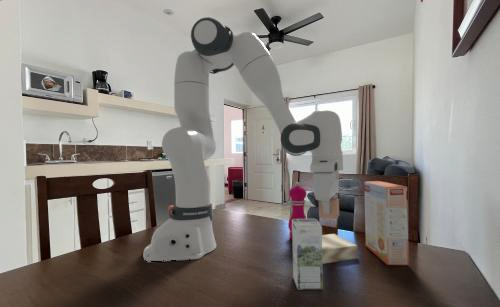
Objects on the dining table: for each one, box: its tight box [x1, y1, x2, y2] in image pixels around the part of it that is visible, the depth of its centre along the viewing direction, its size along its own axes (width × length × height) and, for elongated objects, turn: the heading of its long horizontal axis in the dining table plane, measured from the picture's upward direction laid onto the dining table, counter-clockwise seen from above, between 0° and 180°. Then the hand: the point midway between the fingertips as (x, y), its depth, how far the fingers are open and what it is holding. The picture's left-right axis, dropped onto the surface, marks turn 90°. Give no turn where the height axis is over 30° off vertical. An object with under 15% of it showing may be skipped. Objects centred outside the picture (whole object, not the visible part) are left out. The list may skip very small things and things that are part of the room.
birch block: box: [322, 233, 359, 265], centre depth 73 cm, size 11×11×4 cm
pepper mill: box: [287, 181, 308, 240], centre depth 87 cm, size 7×7×20 cm
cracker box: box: [363, 180, 410, 266], centre depth 71 cm, size 14×6×21 cm, turn 176°
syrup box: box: [291, 218, 324, 291], centre depth 56 cm, size 6×6×14 cm
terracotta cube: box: [318, 197, 340, 220], centre depth 73 cm, size 5×5×5 cm
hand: (328, 210), depth 73 cm, fingers closed on terracotta cube, 5 cm apart
